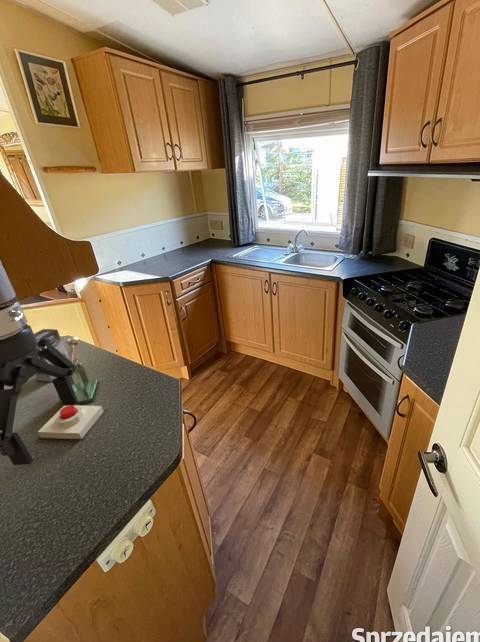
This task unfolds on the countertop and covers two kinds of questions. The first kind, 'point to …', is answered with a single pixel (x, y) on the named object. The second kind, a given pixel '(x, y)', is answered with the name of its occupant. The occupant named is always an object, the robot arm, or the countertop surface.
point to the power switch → (83, 384)
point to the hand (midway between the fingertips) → (50, 430)
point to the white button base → (71, 423)
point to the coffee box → (56, 343)
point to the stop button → (68, 412)
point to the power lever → (72, 348)
